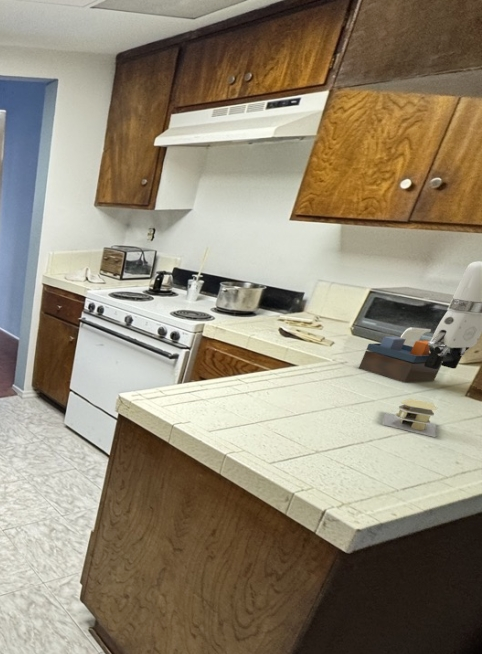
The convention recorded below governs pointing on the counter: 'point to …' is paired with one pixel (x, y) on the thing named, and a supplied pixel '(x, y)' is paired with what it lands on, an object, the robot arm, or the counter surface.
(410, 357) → the blue slab
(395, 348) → the grey-blue packet
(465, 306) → the robot arm
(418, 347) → the block
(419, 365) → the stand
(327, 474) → the counter surface
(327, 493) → the counter surface
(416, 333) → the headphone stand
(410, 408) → the stacked layers on plate
